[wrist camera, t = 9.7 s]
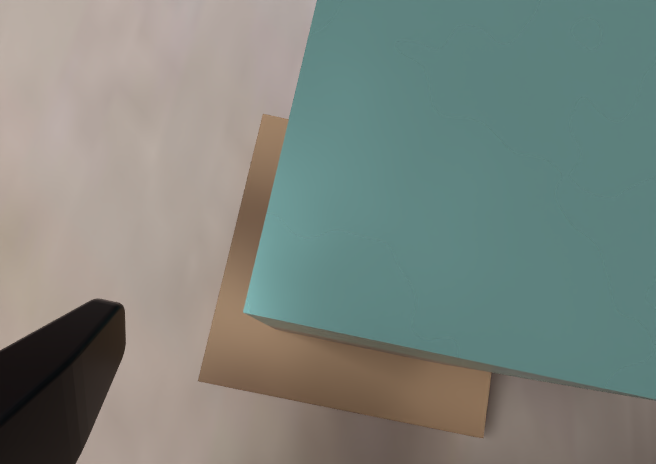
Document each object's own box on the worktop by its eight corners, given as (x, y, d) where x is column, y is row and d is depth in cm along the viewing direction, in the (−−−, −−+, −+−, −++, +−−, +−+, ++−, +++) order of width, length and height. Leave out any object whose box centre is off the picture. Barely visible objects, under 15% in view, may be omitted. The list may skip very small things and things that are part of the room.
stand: (462, 427, 18) (483, 438, 16) (208, 376, 18) (197, 381, 16) (495, 184, 20) (517, 168, 18) (266, 136, 20) (263, 113, 18)
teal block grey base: (430, 362, 16) (690, 407, 6) (276, 329, 16) (242, 312, 6) (453, 212, 17) (710, 11, 7) (309, 181, 17) (335, -76, 7)
